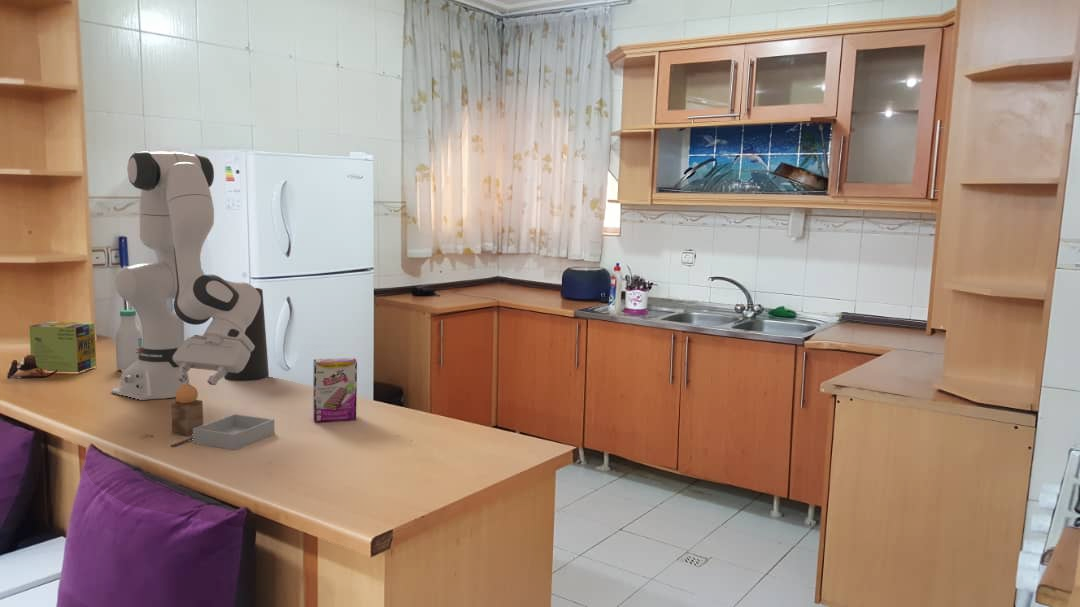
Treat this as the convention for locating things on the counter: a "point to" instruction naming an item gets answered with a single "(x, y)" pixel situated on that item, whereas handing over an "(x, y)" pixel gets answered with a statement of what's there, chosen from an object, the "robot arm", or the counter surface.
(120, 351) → the milk bottle
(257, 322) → the vase
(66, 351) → the protein box
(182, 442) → the line
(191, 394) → the ball
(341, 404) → the candy bar box
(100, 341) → the counter surface
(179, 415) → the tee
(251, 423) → the tray
